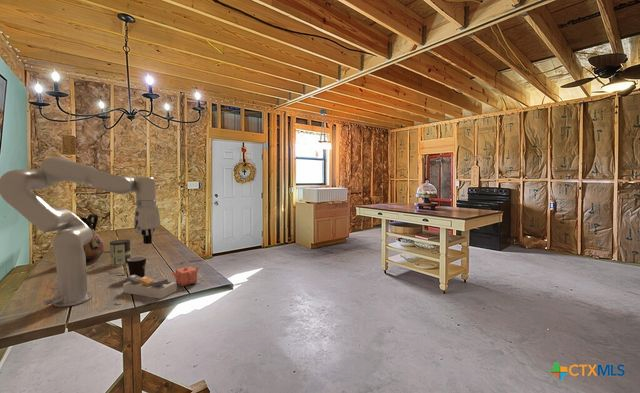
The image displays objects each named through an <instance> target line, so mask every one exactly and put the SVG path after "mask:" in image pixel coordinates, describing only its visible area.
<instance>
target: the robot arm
mask: <svg viewBox="0 0 640 393" xmlns="http://www.w3.org/2000/svg"><path fill="white" fill-rule="evenodd" d="M62 181H66V182H69V183H74V184H79V185H83V186H86V187H90V188H93V189H97V190H100V191H105V192H109V193H114V194H119V195H125V194H131V193H135V195H136V202H135V203H134V206H136V207H135V211H134V217H133V218H134V219H133V226H134V229H135V233H138V234H139V233H140V235H141V236H142V238H143V244H144V245H150V244H152V243H153V238H152V235H153V234H154V232H155V231H156V230H157V229H159V227H160V225H161V218H160V211H159V207H158V206H157V202H156V201H157V200H156V199H157V198H156V197H157V196H156V179H155V178H154V177H152V176H149V177H148V176H140V177H134V176H127V175H126V176H123V175H122V176H121V175H117V174H113V173H109V172H105V171H102V170H99V169H97V168H96V167H94V166H92V165H88V164H84V163H81V162H75V161H73V160H71V159H69V158H65V157H64V158H63V157H53V156H52V157H48V158H45V159H44V160H42V161H41V163H40V165H39V167H38V168H35V169H24V168H23V169H22V168H19V169H12V170H9V171H6V172H4V173H3V174H2V176H0V196H1V198H2V199H3V200H4V201H5V202H6V203H7V204H8V205H9V206H11V207H12V208H14V210H16V211H17V212H18V213H19V214H20V215H22V217H23V218H25V219H26V220H27V221H28V222H29V223H30V224H32V225H33V226H34V227H36V228H37V230H39V231H41V232H44V233H51V232H56V231H57V233H56V234H55V235H54V236H53V239H52V249H53V253H54V256H55V268H56V282H57V293H55V294H54V296H52V298H48V299H45V300H43V305H44V306H48V305H50V304H52V305H53V306H54V307H57V308H65V307H73V306H77V305H80V304H83V303H86V302H87V301H89V300H91V299H92V298H93V293H91V292H88V279H87V278H88V277H87V264H86V257H85V252H84V249H83V246H84V245H85V244H87V243H89V242H90V241H91V239H92V237H93V233H92V230H91V229H90V228H89V227H88V226H87V225H86V224H85V223H84V222H83V221H82V220H81V218H80V217H78V216H77V215H76V214H75V213H74V212H73V211H71V210H69V209H67V208H65V207H53V206H51V205H50V204H49V203H47V201H45V200H44V199H43V198H42V197H40V196H39V195H37V194H36V193H34V192H33V191H34V190H40V189H42V190H43V189H44V188H47V187H50V186H52V185H54V184H57V183H59V182H60V183H61V182H62Z"/></svg>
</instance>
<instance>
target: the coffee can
mask: <svg viewBox="0 0 640 393" xmlns="http://www.w3.org/2000/svg"><path fill="white" fill-rule="evenodd" d="M109 248H110V250H109V251H110V266H112V267H121V266H128V262H127V259H129V258H132V257H131V255H132V254H131V240H130V239H118V240H116V239H115V240H112V241H109Z"/></svg>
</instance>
